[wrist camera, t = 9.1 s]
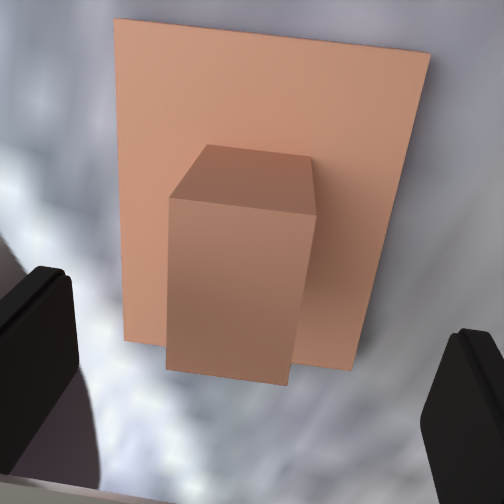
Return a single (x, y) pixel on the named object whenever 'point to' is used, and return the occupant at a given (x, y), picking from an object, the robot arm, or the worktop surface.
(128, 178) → the stub
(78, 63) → the worktop surface
